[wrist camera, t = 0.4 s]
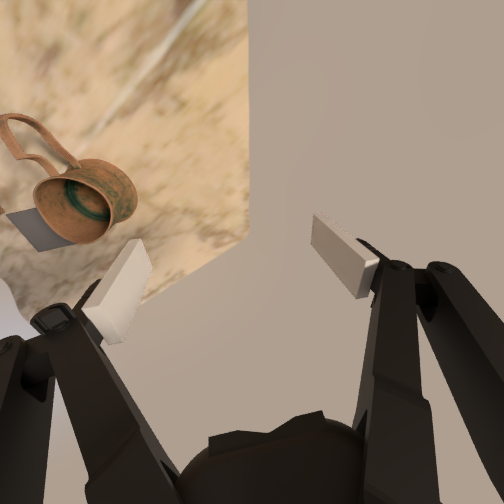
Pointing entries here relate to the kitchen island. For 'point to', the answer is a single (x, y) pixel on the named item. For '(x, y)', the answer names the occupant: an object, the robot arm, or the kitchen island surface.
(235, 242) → the kitchen island surface
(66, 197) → the mug
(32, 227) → the mat
